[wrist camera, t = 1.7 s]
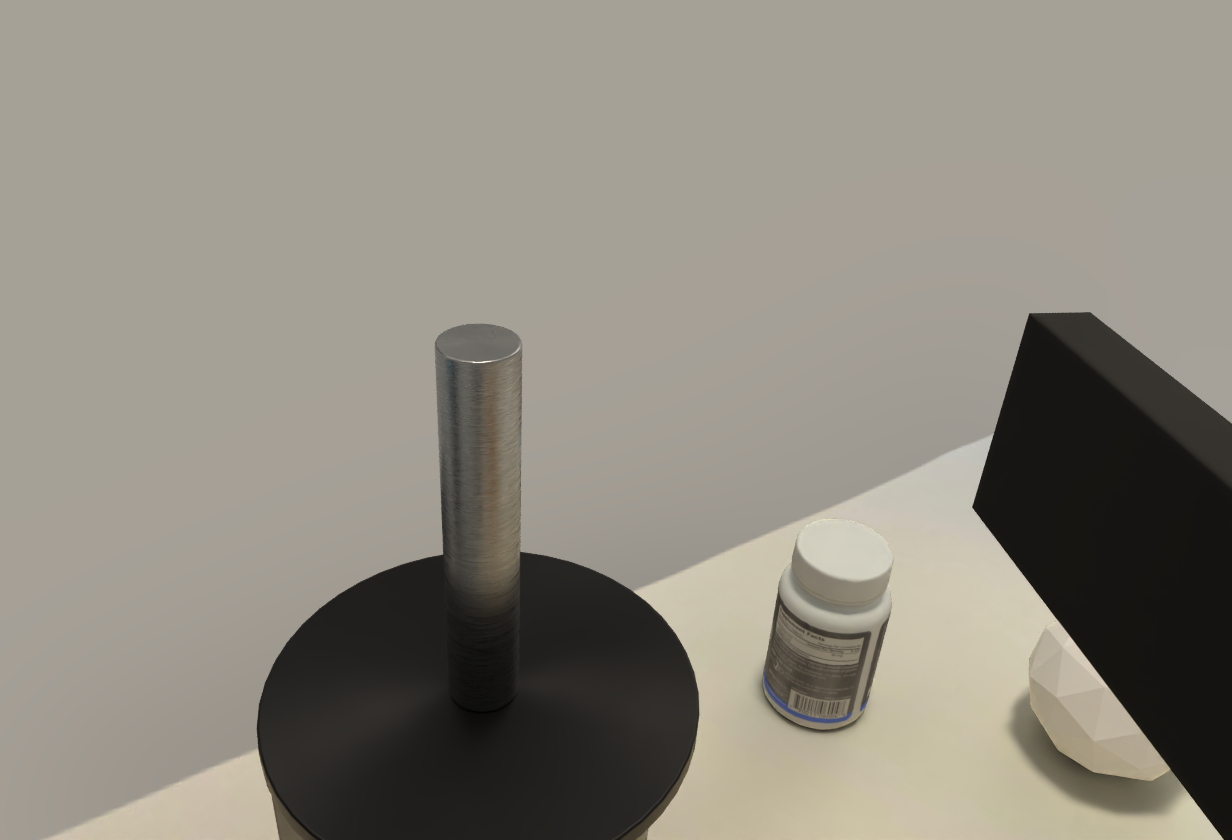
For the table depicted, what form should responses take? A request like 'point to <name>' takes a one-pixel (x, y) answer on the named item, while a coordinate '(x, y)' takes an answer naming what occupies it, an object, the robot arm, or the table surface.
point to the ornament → (1086, 712)
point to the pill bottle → (829, 624)
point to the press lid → (479, 667)
